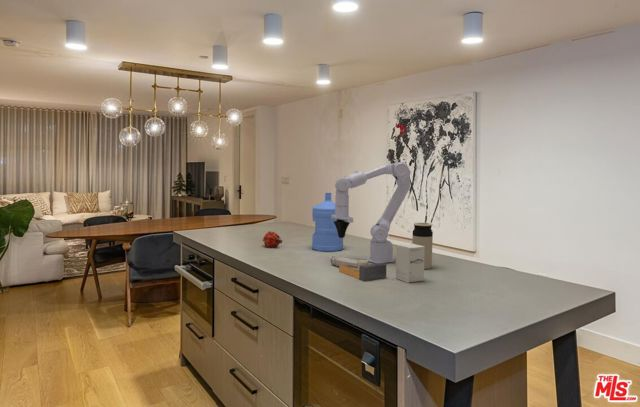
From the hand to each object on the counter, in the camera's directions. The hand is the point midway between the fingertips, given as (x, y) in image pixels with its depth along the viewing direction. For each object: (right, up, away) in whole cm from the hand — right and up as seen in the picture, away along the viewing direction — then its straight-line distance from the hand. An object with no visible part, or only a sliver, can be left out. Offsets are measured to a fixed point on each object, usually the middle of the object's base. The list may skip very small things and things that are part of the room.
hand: (341, 237), depth 187 cm
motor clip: (+6, -12, -22) cm, 26 cm away
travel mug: (+32, -12, -9) cm, 36 cm away
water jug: (-5, -8, +30) cm, 32 cm away
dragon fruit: (-34, -8, +34) cm, 49 cm away
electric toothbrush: (+3, -12, -16) cm, 21 cm away
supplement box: (+23, -13, -29) cm, 40 cm away
